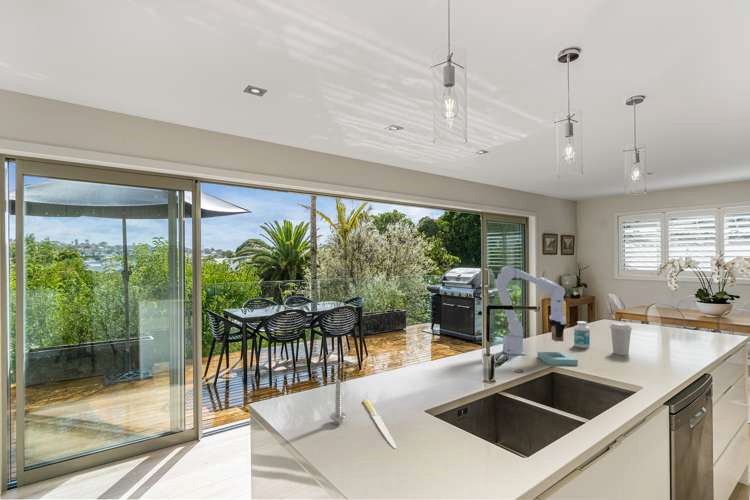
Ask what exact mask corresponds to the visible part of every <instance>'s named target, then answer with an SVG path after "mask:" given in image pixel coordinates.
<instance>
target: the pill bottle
mask: <svg viewBox="0 0 750 500" xmlns="http://www.w3.org/2000/svg"><path fill="white" fill-rule="evenodd" d="M576 323H577V325H574V328H573V331H574V332H573V334H574V335H573V345H574V346H575V347H576V348H580V349H589V348H590V347H591V346H590V345H591V344H590V339H591V337H590V336H591V335H590V334H591V329H590V327H589V326H588V322H587V321H583V320H580V321H576Z"/></svg>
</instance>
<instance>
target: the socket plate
mask: <svg viewBox="0 0 750 500" xmlns="http://www.w3.org/2000/svg"><path fill="white" fill-rule="evenodd" d="M537 358H539V359H540V360H541V361H542V362H544V363H545V364H546V365H550V366H578V360H579V359H578V358H575V357H574V356H572V355H570V354H568V353H567V352H565V351H537Z"/></svg>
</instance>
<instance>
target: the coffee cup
mask: <svg viewBox="0 0 750 500" xmlns="http://www.w3.org/2000/svg"><path fill="white" fill-rule="evenodd" d="M609 328H610V332H611V341H612V352H613V354H614V355H619V356H629V353H630V345H631V344H630V343H631V335H632V334H631V333H632V330H633V327H632V326H631V324H630V323H627V322H611V324H610V325H609Z"/></svg>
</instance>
